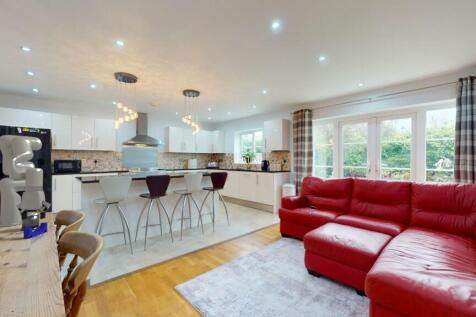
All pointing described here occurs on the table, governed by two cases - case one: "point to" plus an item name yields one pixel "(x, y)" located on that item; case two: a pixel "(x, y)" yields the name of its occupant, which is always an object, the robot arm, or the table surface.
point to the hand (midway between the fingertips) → (33, 219)
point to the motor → (31, 221)
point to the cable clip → (29, 233)
